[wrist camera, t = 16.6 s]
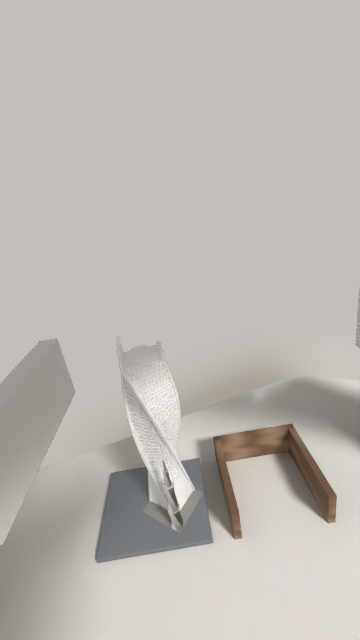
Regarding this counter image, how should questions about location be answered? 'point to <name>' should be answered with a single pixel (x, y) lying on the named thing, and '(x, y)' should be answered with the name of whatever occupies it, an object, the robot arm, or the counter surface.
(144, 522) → the slate mat
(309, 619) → the counter surface
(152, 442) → the twisted skyscraper model
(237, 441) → the walnut bay
